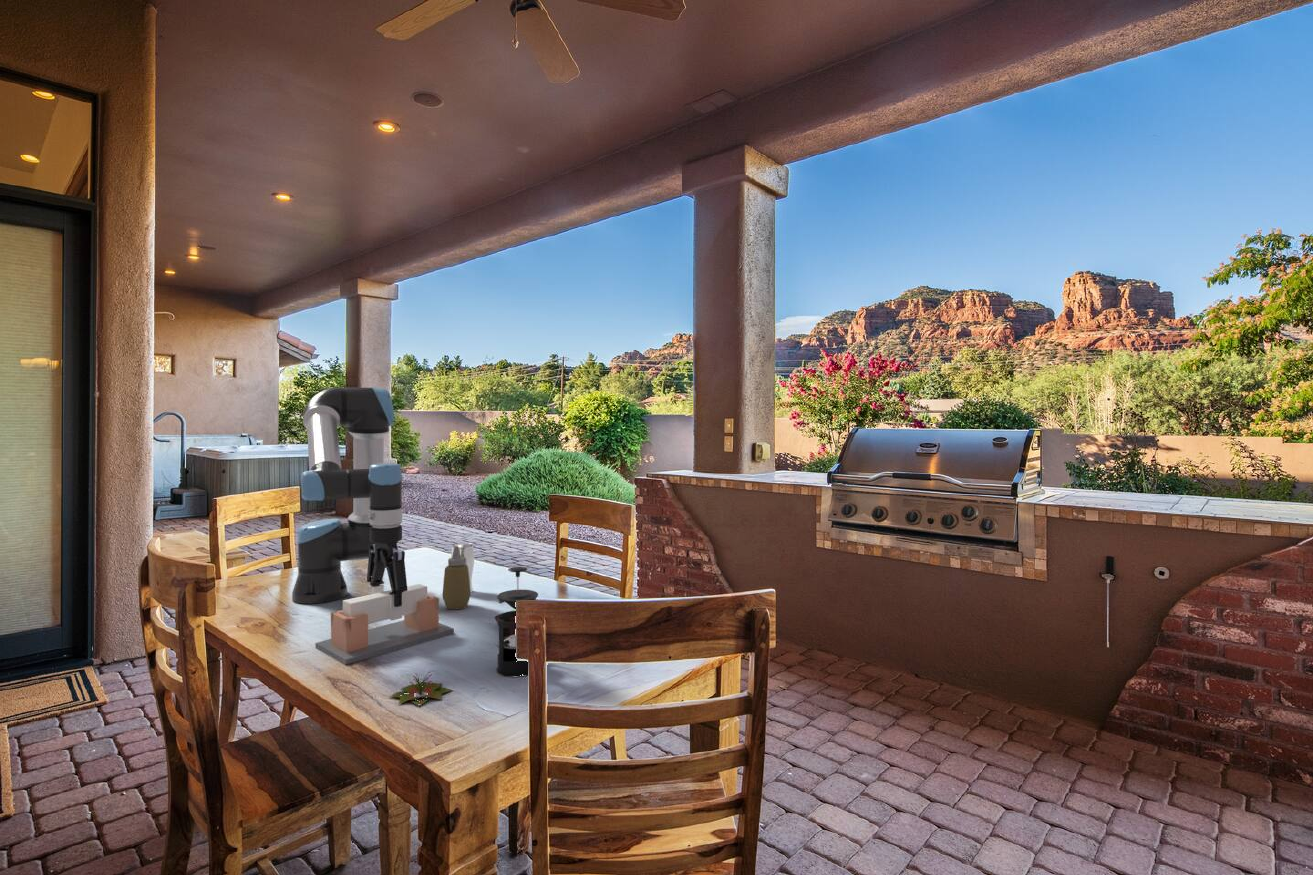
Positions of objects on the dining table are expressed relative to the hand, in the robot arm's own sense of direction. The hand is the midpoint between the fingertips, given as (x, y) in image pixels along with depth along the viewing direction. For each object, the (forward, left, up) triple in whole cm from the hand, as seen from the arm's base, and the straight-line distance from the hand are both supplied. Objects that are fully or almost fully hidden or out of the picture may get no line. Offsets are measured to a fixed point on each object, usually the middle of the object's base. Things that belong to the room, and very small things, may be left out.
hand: (386, 614), depth 165 cm
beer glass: (-23, +37, -7) cm, 44 cm away
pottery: (+21, +25, -7) cm, 33 cm away
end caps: (0, 0, -6) cm, 6 cm away
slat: (0, 0, 0) cm, 0 cm away
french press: (+39, +11, -7) cm, 41 cm away
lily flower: (+35, -11, -7) cm, 37 cm away
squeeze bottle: (-11, +27, -7) cm, 30 cm away
